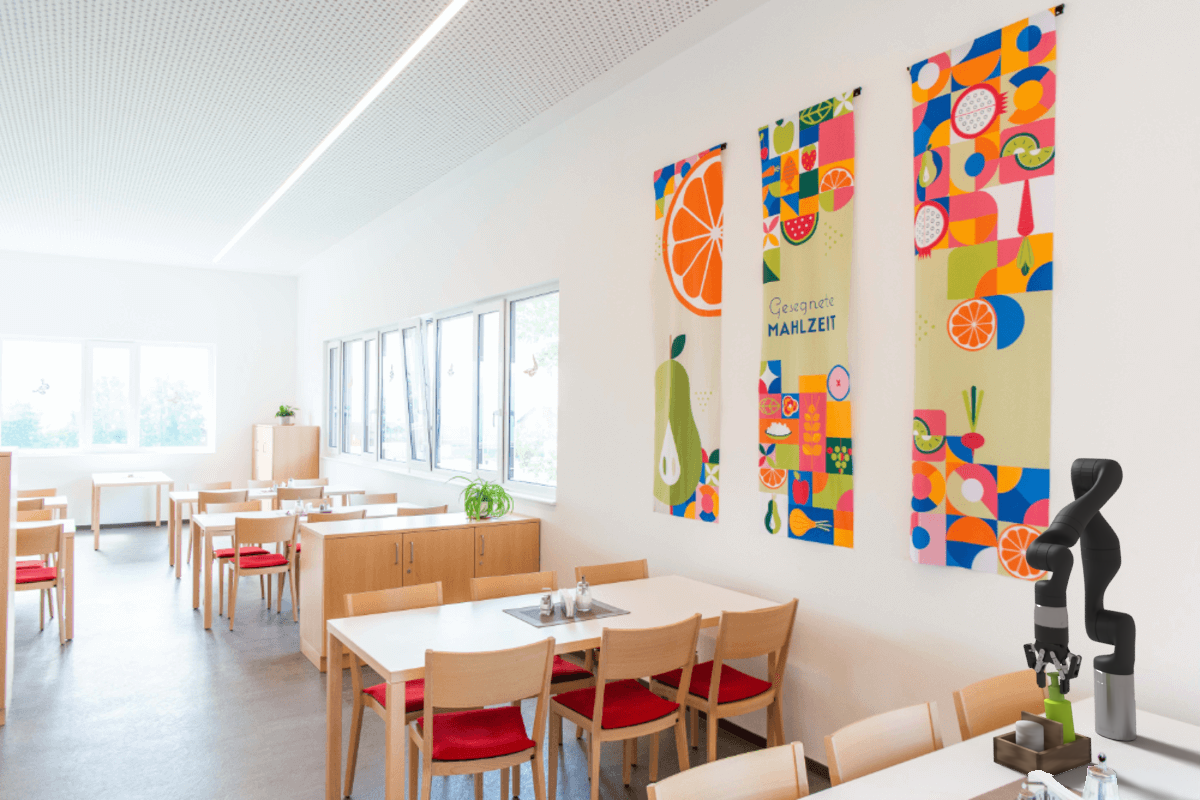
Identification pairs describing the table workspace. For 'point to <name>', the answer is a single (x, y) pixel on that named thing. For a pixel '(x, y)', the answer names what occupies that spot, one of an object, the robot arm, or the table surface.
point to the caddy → (1040, 747)
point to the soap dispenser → (1059, 708)
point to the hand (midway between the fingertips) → (1052, 690)
